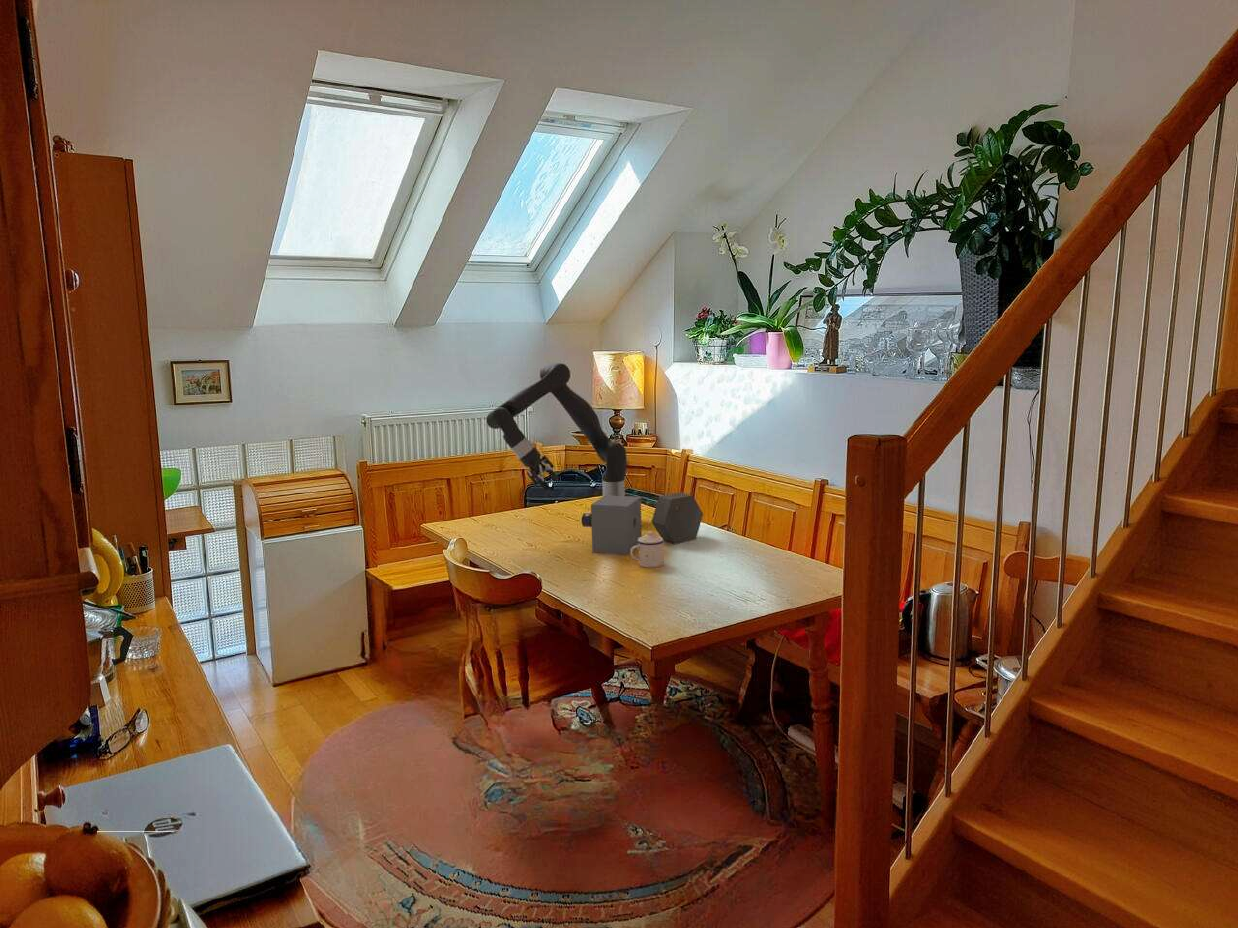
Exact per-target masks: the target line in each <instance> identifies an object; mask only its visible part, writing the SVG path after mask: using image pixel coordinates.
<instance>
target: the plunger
mask: <svg viewBox="0 0 1238 928" xmlns="http://www.w3.org/2000/svg"><path fill="white" fill-rule="evenodd" d="M581 526H582V527H584V528H592V525H591V512H588V513H586V512H585V513H583V514H582V516H581Z"/></svg>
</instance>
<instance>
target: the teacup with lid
mask: <svg viewBox="0 0 1238 928" xmlns="http://www.w3.org/2000/svg"><path fill="white" fill-rule="evenodd" d="M664 541H665V540H663V538H662V537H661V536H660V535H656V534H654V531H650V530H649V531H647V533H646V534H645V535H642V537H640V538H638V541H637V542H638V545H636V546H633V547H632V548H631V550H630V554H629V555H630V556H631V557H632V559H633V560H635V561H636V560H637V561H638V565H639V566H640V567H643V568H649V569H651V568H660V567H661V566H663V565H664ZM635 548H636V549H637V551H638V554H637V555H638V557H637V556H635V555H634V551H635V550H634V549H635ZM633 550H634V551H633Z"/></svg>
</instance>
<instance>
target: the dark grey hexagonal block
mask: <svg viewBox="0 0 1238 928" xmlns="http://www.w3.org/2000/svg"><path fill="white" fill-rule="evenodd" d="M703 516H704V513H703V511H702V509H701V507H700V506H699V504H698V502H697V501H696V499H695V497H694V496H693V494H687V493H684V492H674V493H669V494H663V495H659V496H658V498H657V503H656V505H655V509H654V511H653V515H652V518H651V521H650V522H651V524H652V525H653V527H654V528H655V530H656V531H657V534H658V536H660V537H662V538H663V540H664V541H665V542H668V543H671V544H674V545H676V544H682V543H686V542H690V541H695V540H696V539H697V536H698V533H699V529H700V527H701V524H702V520H703Z"/></svg>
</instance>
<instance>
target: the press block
mask: <svg viewBox="0 0 1238 928" xmlns="http://www.w3.org/2000/svg"><path fill="white" fill-rule="evenodd" d="M590 514H591V525H592V527H591V546H592V547H591V550H592V553H595V554H596V553H597V554H608V555H609V554H611V555H624V556H629V555H631V554H630V550H631V548H632V547H633V546H636V545H638V542H637V541H638V538H640V537H642V536H643V535H642V497H641V496H629V495H628V496H627V495H626V496H610V495H605V496H604V497H603V496H602V497H601V498H599V499H597V500H596V501H594V502H593V503H591V504H590ZM635 549H637V548H635ZM635 549H634V550H633V552H634V551H635Z"/></svg>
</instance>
